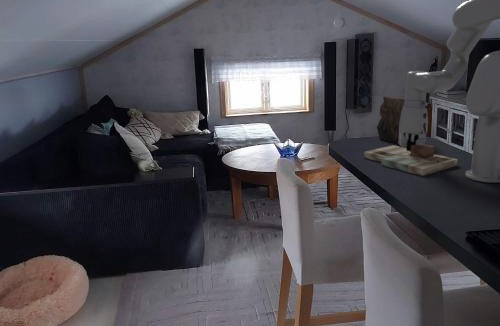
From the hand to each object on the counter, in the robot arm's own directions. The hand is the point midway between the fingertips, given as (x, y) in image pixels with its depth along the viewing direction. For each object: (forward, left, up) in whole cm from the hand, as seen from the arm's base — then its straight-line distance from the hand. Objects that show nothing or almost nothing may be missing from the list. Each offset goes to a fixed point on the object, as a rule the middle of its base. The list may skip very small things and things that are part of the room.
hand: (410, 150), depth 173 cm
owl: (+27, -24, -4) cm, 36 cm away
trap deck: (-2, +5, -4) cm, 6 cm away
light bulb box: (+14, -20, -4) cm, 25 cm away
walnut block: (-5, 0, -1) cm, 5 cm away
